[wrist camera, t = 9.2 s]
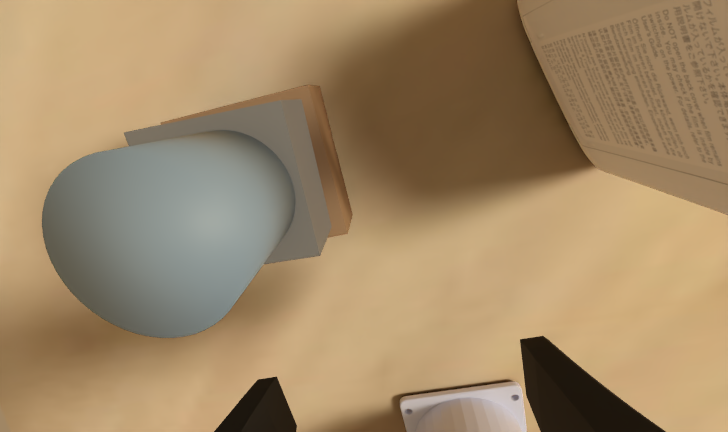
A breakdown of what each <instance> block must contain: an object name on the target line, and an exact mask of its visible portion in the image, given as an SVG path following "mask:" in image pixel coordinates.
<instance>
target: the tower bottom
mask: <svg viewBox="0 0 728 432" xmlns="http://www.w3.org/2000/svg"><path fill="white" fill-rule="evenodd" d="M295 99H301V100H302V104H303V108H304V112H305V116H306V121H307V125H308V129H309V133H310V138H311V142H312V146H313V150H314V154H315V159H316V163H317V167H318V171H319V176H320V180H321V184H322V188H323V192H324V197H325V201H326V205H327V209H328V214H329V218H330V222H331V226H332V227H331V230H330V232H329V235H328V237H333V236H338V235H343V234H348V230H349V226H350V223H351V219H352V215H353V214H352V211H351V207H350V203H349V199H348V195H347V191H346V187H345V183H344V179H343V176H342V172H341V168H340V164H339V160H338V156H337V152H336V148H335V145H334V141H333V137H332V133H331V129H330V125H329V121H328V117H327V113H326V110H325V106H324V102H323V98H322V94H321V90H320V86H313V85H305V86H301V87H297V88H293V89H289V90H286V91H282V92H278V93H274V94H270V95H266V96H262V97H258V98H255V99H251V100H247V101H243V102H239V103H235V104H231V105H228V106H224V107H220V108H216V109H212V110H208V111H204V112H200V113H197V114H193V115H189V116H185V117H181V118H177V119H173V120H169V121H166V122H162V123H161V125H163V124H168V123H173V122H177V121H182V120H187V119H192V118H197V117H202V116H206V115H211V114H216V113H221V112H226V111H230V110H235V109H240V108H245V107H250V106H254V105H259V104H264V103H269V102H274V101H279V100H295ZM328 237H327V238H328Z"/></svg>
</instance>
